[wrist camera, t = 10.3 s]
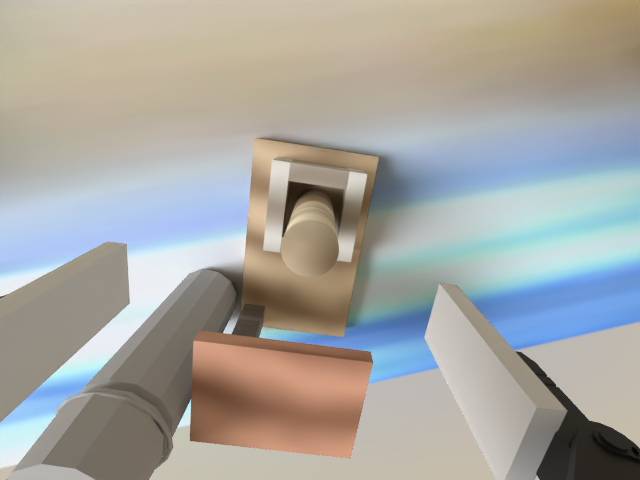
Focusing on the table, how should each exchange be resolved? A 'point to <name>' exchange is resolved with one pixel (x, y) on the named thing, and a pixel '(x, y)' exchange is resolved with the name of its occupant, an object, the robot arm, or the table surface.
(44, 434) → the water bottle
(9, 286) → the table surface
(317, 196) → the peg
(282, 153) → the socket station
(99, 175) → the table surface
